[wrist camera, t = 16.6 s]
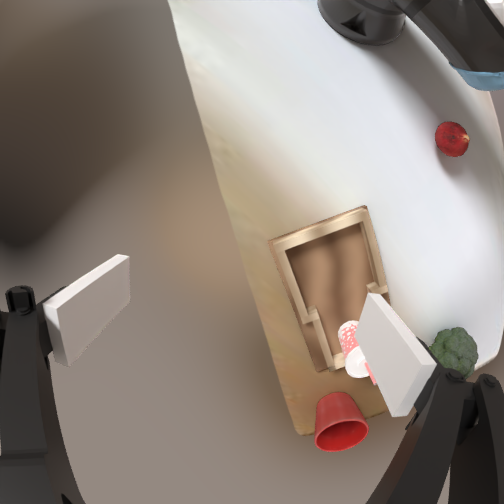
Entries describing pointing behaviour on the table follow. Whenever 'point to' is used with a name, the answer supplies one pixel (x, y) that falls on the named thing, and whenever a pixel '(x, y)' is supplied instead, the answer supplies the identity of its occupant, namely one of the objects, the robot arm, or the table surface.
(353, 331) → the beverage cup
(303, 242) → the light brown wooden tray
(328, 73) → the table surface
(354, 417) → the flower pot
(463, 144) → the pomegranate
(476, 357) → the vegetable
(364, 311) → the robot arm
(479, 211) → the table surface
